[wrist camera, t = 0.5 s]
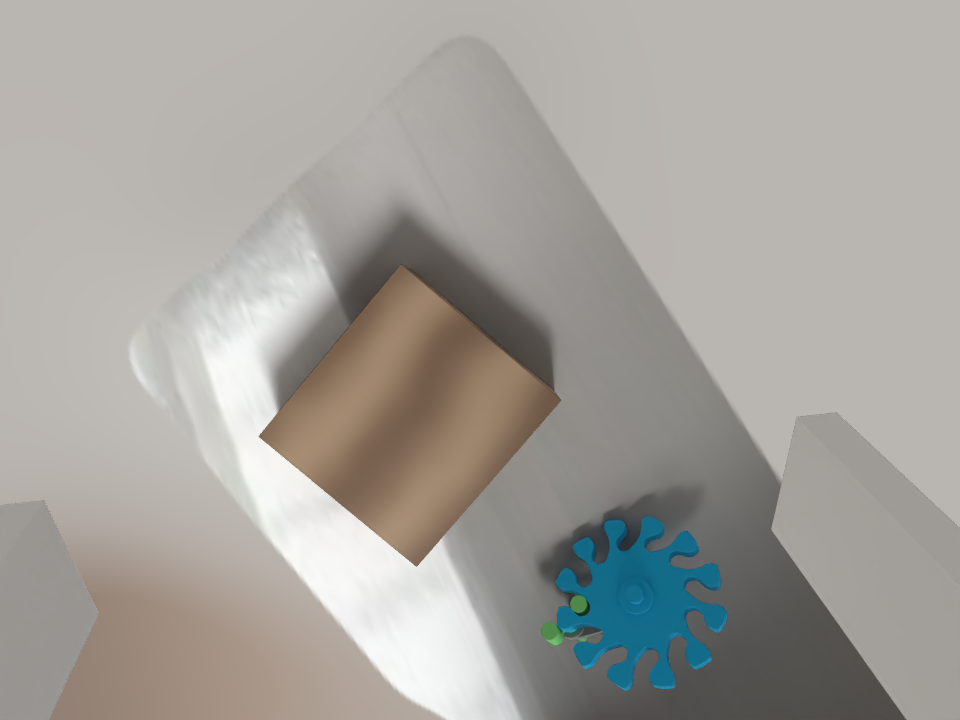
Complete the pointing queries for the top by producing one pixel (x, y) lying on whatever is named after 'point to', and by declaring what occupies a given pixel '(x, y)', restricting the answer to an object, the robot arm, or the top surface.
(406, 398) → the brown rectangular block
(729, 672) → the top surface
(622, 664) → the gear
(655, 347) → the top surface
